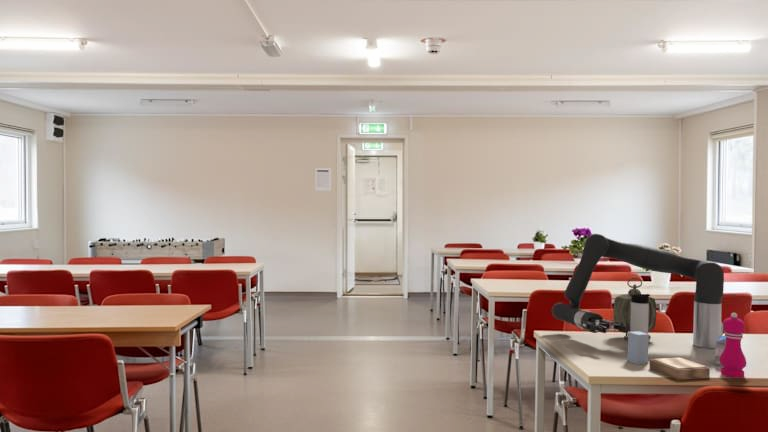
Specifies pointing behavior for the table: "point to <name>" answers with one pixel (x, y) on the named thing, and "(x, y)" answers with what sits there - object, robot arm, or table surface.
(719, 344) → the label tape box
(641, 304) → the travel mug
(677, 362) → the block
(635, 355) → the slate-blue block
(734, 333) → the pepper mill
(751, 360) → the table surface
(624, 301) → the tabletop clock
